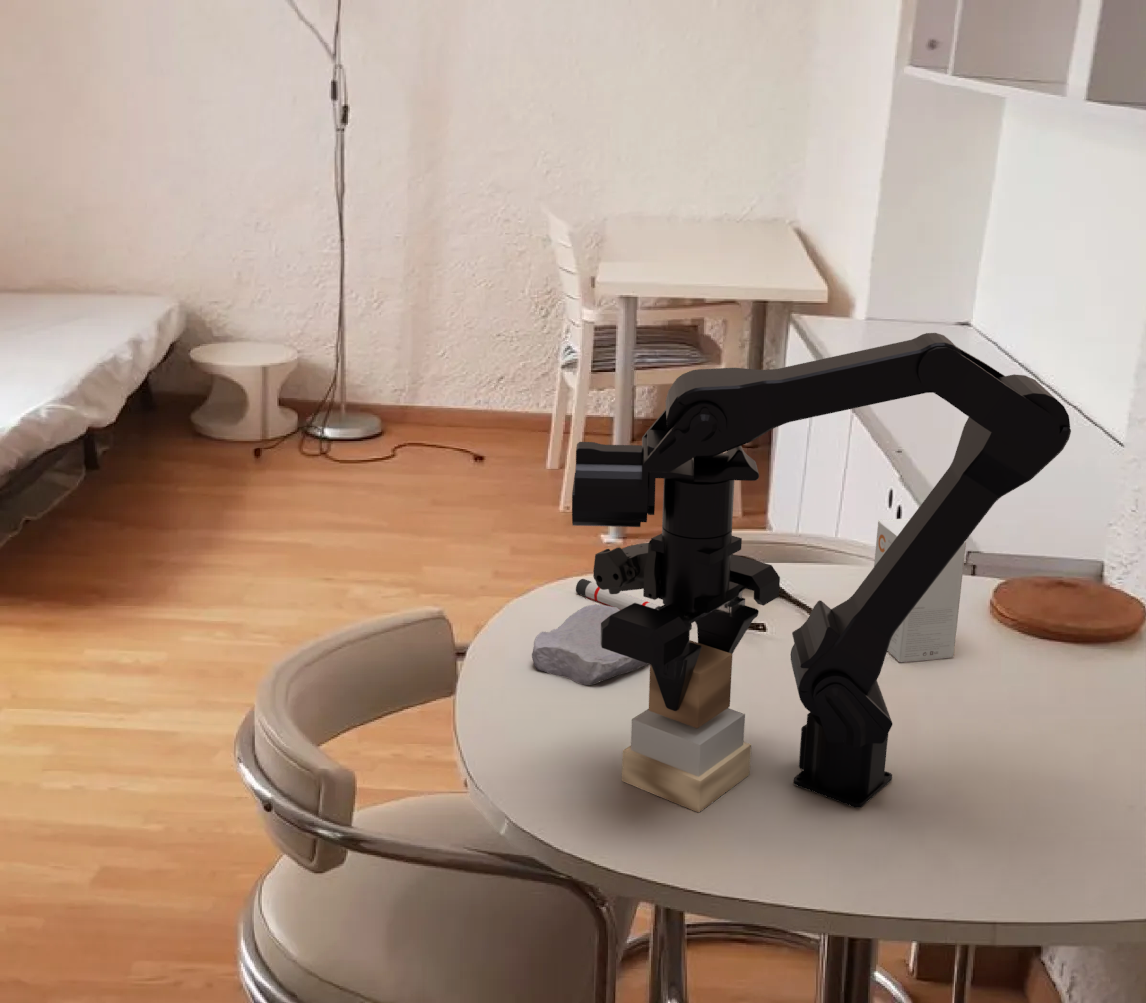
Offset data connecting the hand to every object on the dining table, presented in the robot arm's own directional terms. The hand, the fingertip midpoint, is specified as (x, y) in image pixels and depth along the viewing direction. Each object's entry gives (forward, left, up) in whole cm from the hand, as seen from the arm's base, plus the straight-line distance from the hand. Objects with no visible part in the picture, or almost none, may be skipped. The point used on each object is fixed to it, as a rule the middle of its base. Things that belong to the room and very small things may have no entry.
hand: (690, 697), depth 119 cm
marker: (+25, -26, -8) cm, 37 cm away
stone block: (+20, -14, -8) cm, 26 cm away
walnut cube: (0, 0, -1) cm, 1 cm away
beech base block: (0, 0, -8) cm, 8 cm away
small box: (-3, -38, -8) cm, 39 cm away
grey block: (0, 0, -5) cm, 5 cm away
